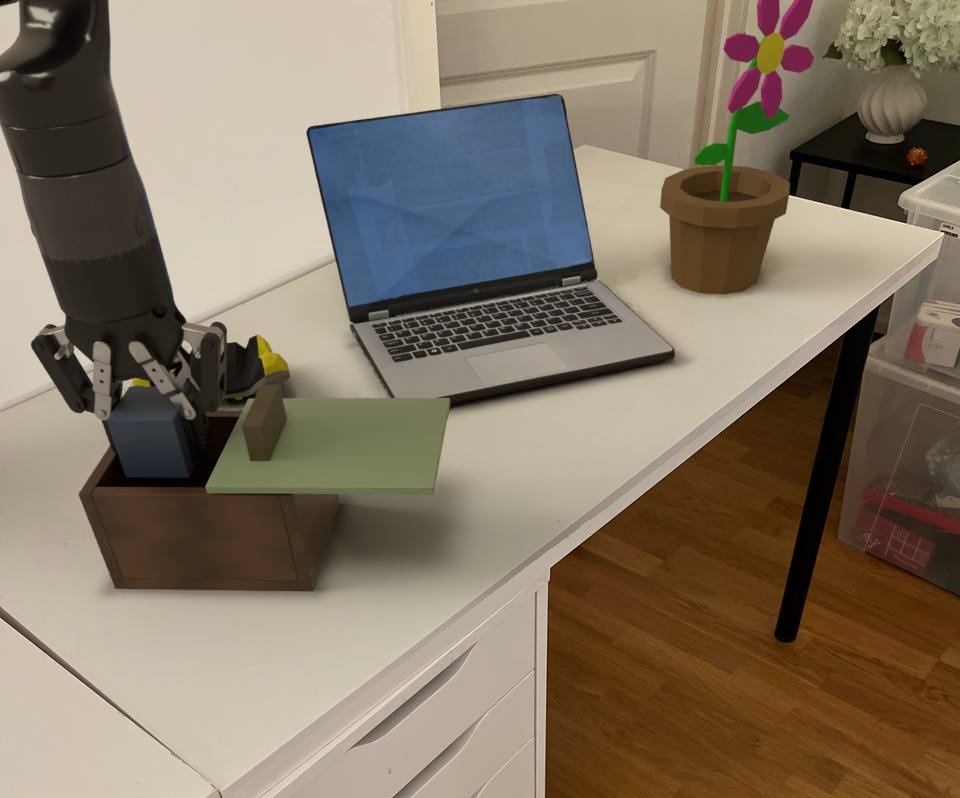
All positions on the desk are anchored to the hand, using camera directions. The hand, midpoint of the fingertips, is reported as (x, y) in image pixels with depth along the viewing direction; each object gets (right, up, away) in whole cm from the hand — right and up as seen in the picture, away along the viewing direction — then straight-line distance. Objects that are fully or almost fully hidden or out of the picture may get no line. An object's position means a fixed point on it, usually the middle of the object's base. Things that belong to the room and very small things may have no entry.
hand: (165, 454), depth 75 cm
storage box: (+4, -6, +6) cm, 9 cm away
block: (0, 0, 0) cm, 0 cm away
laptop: (+26, +21, +33) cm, 47 cm away
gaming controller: (-2, +11, +24) cm, 26 cm away
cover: (+13, 0, -2) cm, 14 cm away
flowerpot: (+52, +29, +41) cm, 72 cm away
